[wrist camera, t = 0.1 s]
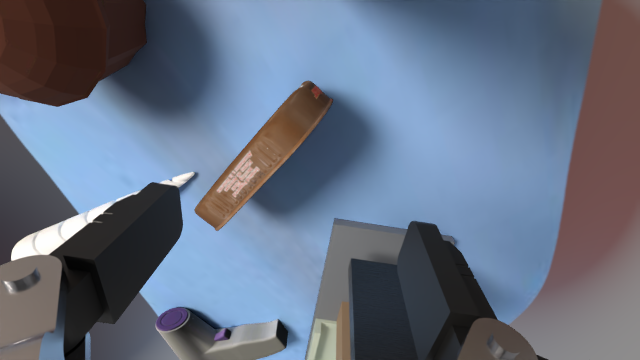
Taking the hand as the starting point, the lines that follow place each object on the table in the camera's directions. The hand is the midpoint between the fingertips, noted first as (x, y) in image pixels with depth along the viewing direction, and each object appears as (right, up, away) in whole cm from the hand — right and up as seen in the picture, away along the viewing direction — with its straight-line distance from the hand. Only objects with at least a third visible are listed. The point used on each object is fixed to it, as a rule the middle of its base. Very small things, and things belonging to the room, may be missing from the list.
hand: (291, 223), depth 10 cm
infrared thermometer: (-12, -19, +32) cm, 39 cm away
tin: (-4, +6, +17) cm, 19 cm away
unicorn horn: (-23, -2, +23) cm, 33 cm away
